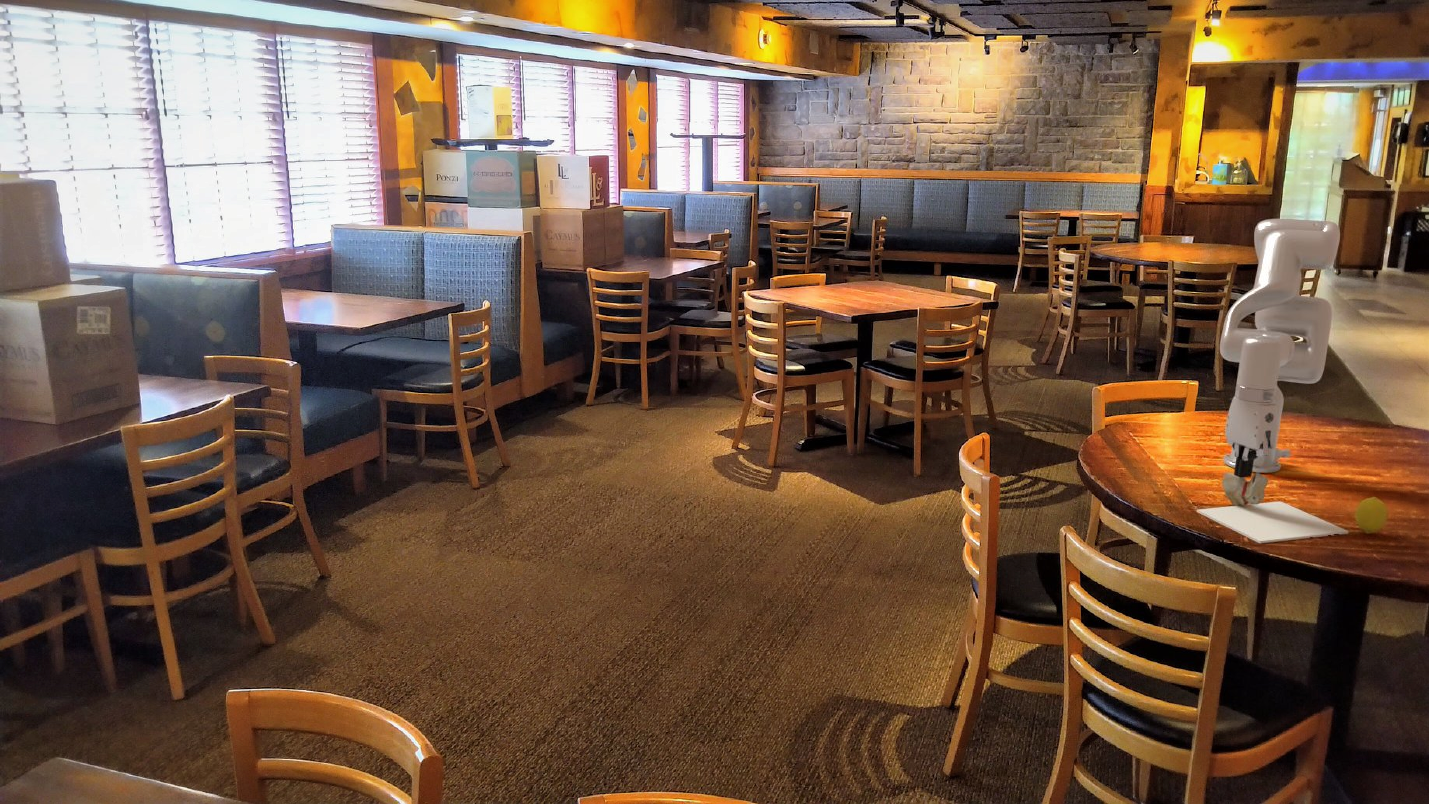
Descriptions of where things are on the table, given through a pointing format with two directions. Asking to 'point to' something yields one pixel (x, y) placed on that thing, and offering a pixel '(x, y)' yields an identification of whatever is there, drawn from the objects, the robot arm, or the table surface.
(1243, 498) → the chocolate bunny
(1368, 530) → the lemon
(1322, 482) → the table surface
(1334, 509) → the table surface
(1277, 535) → the mat
